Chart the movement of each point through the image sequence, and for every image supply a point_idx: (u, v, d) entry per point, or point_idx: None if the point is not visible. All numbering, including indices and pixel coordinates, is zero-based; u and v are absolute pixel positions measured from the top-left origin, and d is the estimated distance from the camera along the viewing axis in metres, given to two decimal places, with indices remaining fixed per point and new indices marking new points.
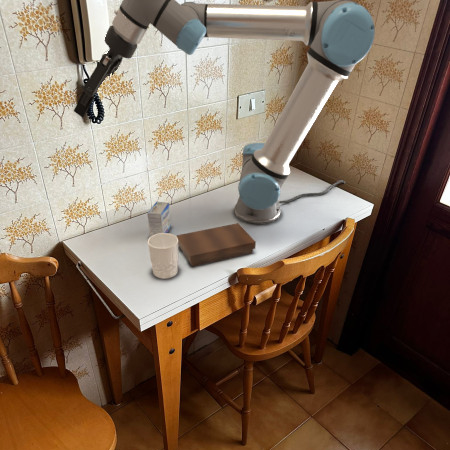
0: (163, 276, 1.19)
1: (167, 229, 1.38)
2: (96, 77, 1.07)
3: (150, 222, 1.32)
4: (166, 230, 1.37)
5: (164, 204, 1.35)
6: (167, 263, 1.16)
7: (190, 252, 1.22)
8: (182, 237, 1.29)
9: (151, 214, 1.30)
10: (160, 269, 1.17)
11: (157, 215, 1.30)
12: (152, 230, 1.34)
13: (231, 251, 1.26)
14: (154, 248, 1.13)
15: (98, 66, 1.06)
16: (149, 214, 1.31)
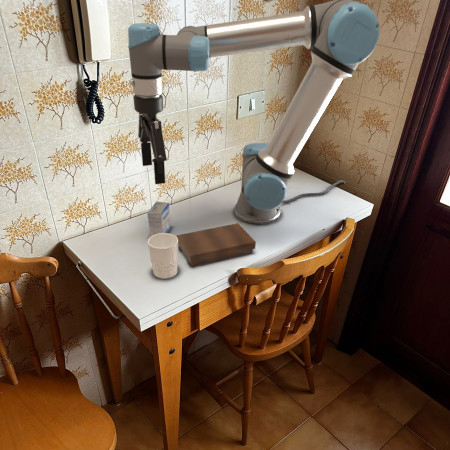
0: (163, 276, 1.19)
1: (167, 229, 1.38)
2: (159, 143, 1.14)
3: (150, 222, 1.32)
4: (166, 230, 1.37)
5: (164, 204, 1.35)
6: (167, 263, 1.16)
7: (190, 252, 1.22)
8: (182, 237, 1.29)
9: (151, 214, 1.30)
10: (160, 269, 1.17)
11: (157, 215, 1.30)
12: (152, 230, 1.34)
13: (231, 251, 1.26)
14: (154, 248, 1.13)
15: (154, 134, 1.13)
16: (149, 214, 1.31)
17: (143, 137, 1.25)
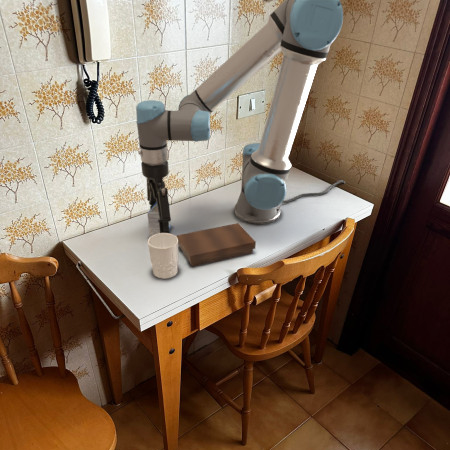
0: (163, 276, 1.19)
1: None
2: (165, 207, 1.26)
3: (150, 222, 1.32)
4: None
5: None
6: (167, 263, 1.16)
7: (190, 252, 1.22)
8: (182, 237, 1.29)
9: (151, 214, 1.30)
10: (160, 269, 1.17)
11: (157, 215, 1.30)
12: (152, 230, 1.34)
13: (231, 251, 1.26)
14: (154, 248, 1.13)
15: (161, 200, 1.25)
16: (149, 214, 1.31)
17: (152, 199, 1.35)
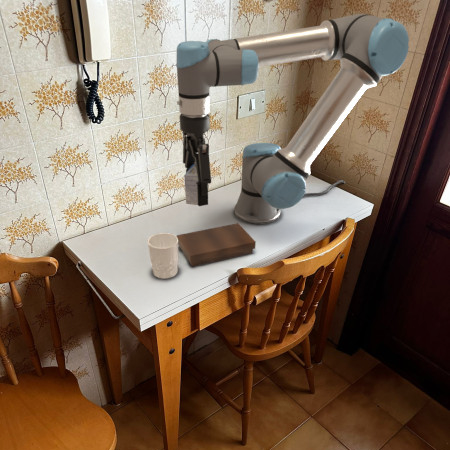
0: (163, 276, 1.19)
1: None
2: (205, 166, 1.11)
3: (187, 185, 1.18)
4: None
5: None
6: (167, 263, 1.16)
7: (190, 252, 1.22)
8: (182, 237, 1.29)
9: (188, 176, 1.16)
10: (160, 269, 1.17)
11: (195, 177, 1.16)
12: (188, 194, 1.20)
13: (231, 251, 1.26)
14: (154, 248, 1.13)
15: (201, 158, 1.10)
16: (186, 176, 1.16)
17: (188, 161, 1.21)
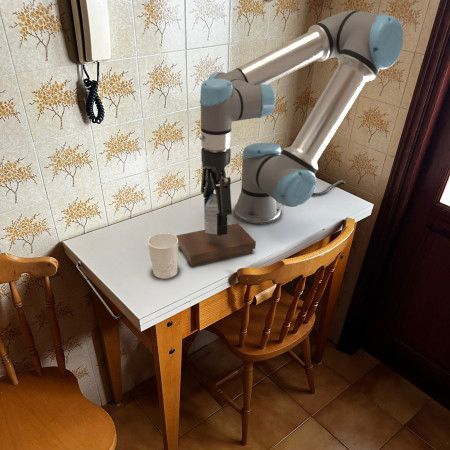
0: (163, 276, 1.19)
1: None
2: (226, 199, 1.14)
3: (206, 216, 1.20)
4: None
5: None
6: (167, 263, 1.16)
7: (190, 252, 1.22)
8: (182, 237, 1.29)
9: (208, 207, 1.18)
10: (160, 269, 1.17)
11: (216, 208, 1.18)
12: (207, 224, 1.22)
13: (231, 251, 1.26)
14: (154, 248, 1.13)
15: (223, 190, 1.12)
16: (206, 207, 1.18)
17: (207, 191, 1.23)
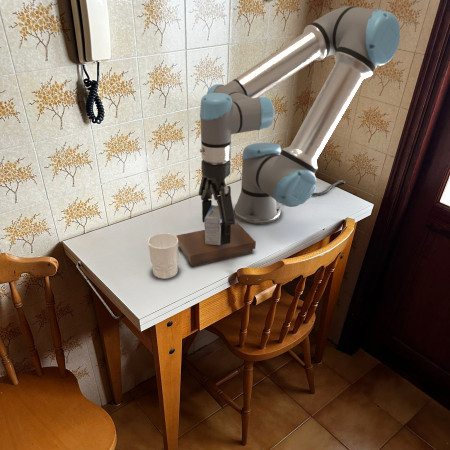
0: (163, 276, 1.19)
1: None
2: (228, 208, 1.14)
3: (207, 227, 1.22)
4: None
5: None
6: (167, 263, 1.16)
7: (190, 252, 1.22)
8: (182, 237, 1.29)
9: (208, 219, 1.20)
10: (160, 269, 1.17)
11: (216, 220, 1.20)
12: (208, 236, 1.24)
13: (231, 251, 1.26)
14: (154, 248, 1.13)
15: (224, 199, 1.13)
16: (206, 219, 1.21)
17: (205, 196, 1.26)
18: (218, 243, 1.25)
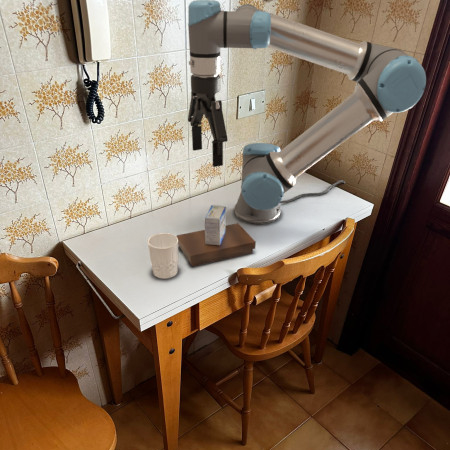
0: (163, 276, 1.19)
1: (223, 235, 1.27)
2: (220, 123, 1.11)
3: (207, 227, 1.22)
4: (222, 236, 1.27)
5: (221, 208, 1.25)
6: (167, 263, 1.16)
7: (190, 252, 1.22)
8: (182, 237, 1.29)
9: (208, 219, 1.20)
10: (160, 269, 1.17)
11: (216, 220, 1.20)
12: (208, 236, 1.24)
13: (231, 251, 1.26)
14: (154, 248, 1.13)
15: (215, 114, 1.11)
16: (206, 219, 1.21)
17: (195, 120, 1.23)
18: (218, 243, 1.25)
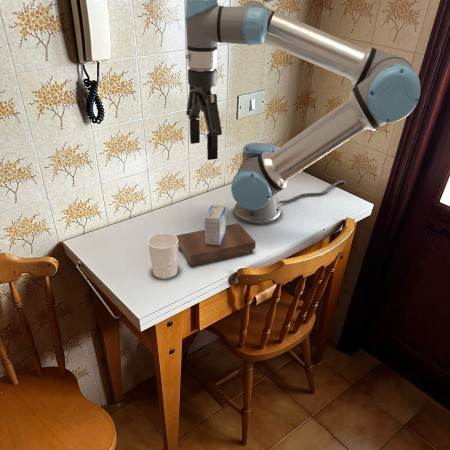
0: (163, 276, 1.19)
1: (223, 235, 1.27)
2: (215, 117, 1.13)
3: (207, 227, 1.22)
4: (222, 236, 1.27)
5: (221, 208, 1.25)
6: (167, 263, 1.16)
7: (190, 252, 1.22)
8: (182, 237, 1.29)
9: (208, 219, 1.20)
10: (160, 269, 1.17)
11: (216, 220, 1.20)
12: (208, 236, 1.24)
13: (231, 251, 1.26)
14: (154, 248, 1.13)
15: (210, 108, 1.12)
16: (206, 219, 1.21)
17: (193, 114, 1.25)
18: (218, 243, 1.25)
